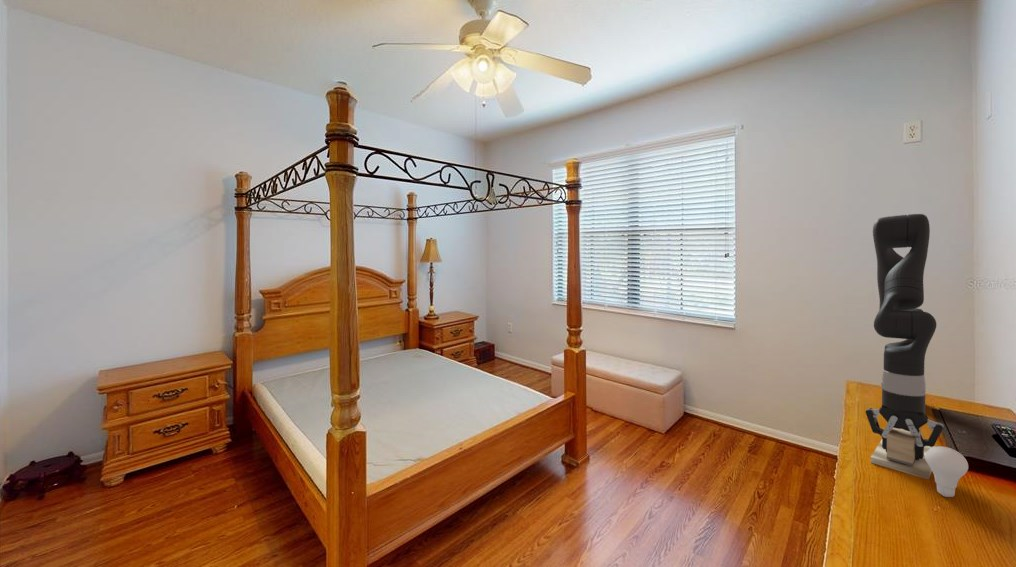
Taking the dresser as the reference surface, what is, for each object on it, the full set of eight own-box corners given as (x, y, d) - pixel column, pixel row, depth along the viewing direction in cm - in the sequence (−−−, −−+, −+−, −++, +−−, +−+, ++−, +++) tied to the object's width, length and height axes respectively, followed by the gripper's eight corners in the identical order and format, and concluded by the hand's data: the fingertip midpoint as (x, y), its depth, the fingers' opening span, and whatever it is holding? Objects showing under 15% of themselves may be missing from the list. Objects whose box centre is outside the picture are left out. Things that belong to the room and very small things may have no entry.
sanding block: (892, 448, 99) (893, 426, 99) (917, 454, 95) (918, 431, 95) (886, 458, 94) (886, 435, 94) (912, 465, 91) (913, 442, 90)
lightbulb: (964, 494, 82) (965, 446, 82) (970, 509, 78) (971, 458, 77) (923, 484, 87) (923, 438, 86) (926, 497, 82) (927, 449, 81)
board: (884, 439, 107) (885, 434, 107) (938, 452, 99) (938, 447, 99) (870, 462, 96) (870, 456, 96) (928, 479, 88) (928, 473, 88)
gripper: (948, 392, 90) (947, 461, 91) (867, 379, 102) (867, 440, 103) (945, 401, 86) (943, 472, 87) (861, 386, 97) (860, 449, 99)
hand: (902, 454), depth 95 cm, fingers closed on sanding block, 4 cm apart
